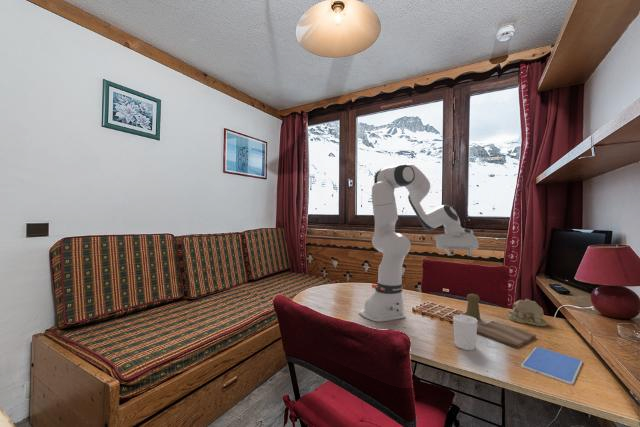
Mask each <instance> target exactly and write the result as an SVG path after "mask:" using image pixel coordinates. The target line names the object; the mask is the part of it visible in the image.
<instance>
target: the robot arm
mask: <svg viewBox="0 0 640 427" xmlns="http://www.w3.org/2000/svg"><path fill="white" fill-rule="evenodd" d="M373 178H374V179H373V180H374V183H373V185H372V188H371V204H372V211H373V217H374V218H373V219H374V232H373V236H372V238H371V243H372V246H373V248H374V249H375V250H377V251H378V252H379V253H382V259H381V262H380V263H379V265H378V268H377V270H378V273H377V275H378V276H377V277H378V279H377V283H376V284H375V283H372V284H371V288H372V289H374V291H373V292H372V293H371V295H369V297H368V298H367V299H366V300H365V303H364V308H363V309H360V310H359V314H360V316H362V317H364V318H365V319H368V320H370V321H373V322H379V323H382V322H386V321H387V322H388V321H393V320H401V319H406V314H405V313H406V312H405V306H404V305H405V304H404V299H403V294H402V293H403V288H404V287H403V283H402V280H403V279H402V277H403V276H402V274H403V273H402V272H403V266H404V265H403V264H404V260H405V257H406V256H407V255H408V254H409V252H410V250H411V247H412V244H411V241H410V239H409V238H408V237H407V236H406V235H404V234H402V233H399V232H396V224H397V221H398V220H399V216H398V215H399V214H398V208H397V202H396V197H395V189H397V188H398V189H399V188H402V187H405V189H406V190H407V191H408V196H407V197H408V198H407V199H408V203H409V204H410V206H411V207H412V210H413V211H414V213H415V215H416V216H417V218H418V221H419V222H420V224H421V226H422V227H423V229H424V230H426V231H432V230H435V229H436V228H439V227H441V226H443V228H444V233H437V234H435V235H434V240H435V246H436V248H437V249H438V250H444V252H445V253H446V254H447V256H452V251H451V250H465V251H467V252H466V256H467V257H472V251H477V250H478V249H479V247H480V243H479V241H478V239H477V238H478V237H477V236H476V235H474V231H473V230H472V229H469V228H464V227H462V226H461V220H460V217H459V215H458V213H457V210H456V209H455V208H454V207H453V206H451V205H449V204H442V205H439V206H437V207H436V208H435V209H432V210H430V211H427V212H425V210H424V208H423V207H422V205H421V202H422V201H423V199H425V198H426V197H427V196H428V194H429V193H430V190H431V182H430V180H429V179H428V178H427V176H426V175H425V173H423V172H422V171H421V170H420V168H418V167H417V166H416V165H414V164H413V163H406V164H405V163H401V164H396V165H390V166H386V167H384V168H381V169H378V170H377V171H376V173H375V174H374V177H373Z"/></svg>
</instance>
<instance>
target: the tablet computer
mask: <svg viewBox="0 0 640 427" xmlns="http://www.w3.org/2000/svg"><path fill="white" fill-rule="evenodd" d="M582 364H583V360H581V359H580V358H576V357H574V356H570V355H566V354H564V353H560V352H556V351H554V350H550V349H547V348H544V347H543V348H542V347H541V346H540V347H539V346H536V347H534V349H533V350H532V351H531V352H530V354H529V355H527V357H526V358H525V360H524V361H523V362H522V363H521V365H520V366H521V368H523V369H525V370H528V371H530V372H534V373H536V374H539V375H542V376H545V377H547V378H551V379H553V380H555V379H556V380H555V381H558V380H559V382H561V381H562V382H561V383H564V384H566V383H567V385H569V386H573V385H574V384H575V382H576V379H577V377H578V374H579V372H580V370H581V367H582Z"/></svg>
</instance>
